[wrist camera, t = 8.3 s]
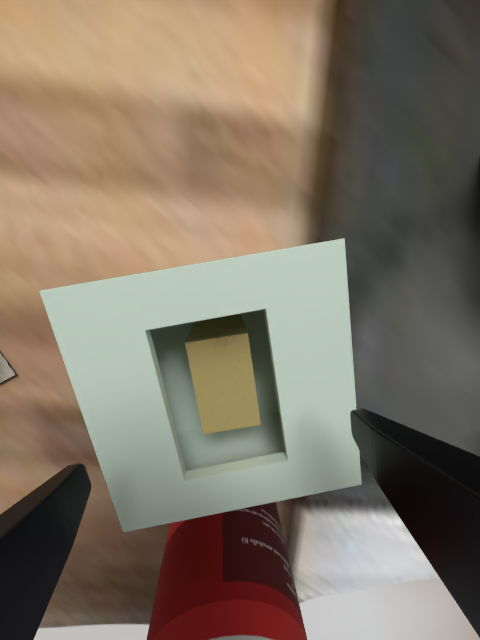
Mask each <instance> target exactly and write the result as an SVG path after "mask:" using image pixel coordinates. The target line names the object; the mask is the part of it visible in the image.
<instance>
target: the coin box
mask: <svg viewBox="0 0 480 640" xmlns="http://www.w3.org/2000/svg"><path fill="white" fill-rule="evenodd" d="M40 294H41V297H42V300H43V303H44V306H45V309H46V311H47V314H48V317H49V320H50V323H51V326H52V329H53V332H54V334H55V337H56V340H57V343H58V346H59V349H60V352H61V355H62V357H63V360H64V363H65V366H66V369H67V372H68V375H69V378H70V380H71V383H72V386H73V389H74V392H75V395H76V398H77V401H78V403H79V406H80V409H81V412H82V415H83V418H84V421H85V424H86V426H87V429H88V432H89V435H90V438H91V441H92V444H93V446H94V449H95V452H96V455H97V458H98V461H99V464H100V467H101V469H102V472H103V475H104V478H105V481H106V484H107V487H108V490H109V492H110V495H111V498H112V501H113V504H114V507H115V510H116V513H117V515H118V518H119V521H120V524H121V527H122V530H123V533H124V532H129V531H133V530H138V529H143V528H148V527H153V526H158V525H163V524H168V523H173V522H178V521H183V520H188V519H193V518H198V517H203V516H208V515H213V514H218V513H223V512H228V511H233V510H237V509H242V508H247V507H252V506H257V505H262V504H267V503H272V502H277V501H282V500H287V499H292V498H297V497H302V496H307V495H312V494H317V493H322V492H327V491H332V490H337V489H341V488H346V487H351V486H356V485H361V470H360V455H359V448H358V446H357V444H356V442H355V441H354V439H353V436H352V432H351V420H350V412H351V411H352V410H356V398H355V383H354V369H353V354H352V340H351V325H350V311H349V297H348V282H347V268H346V253H345V239H338V240H332V241H326V242H321V243H315V244H309V245H303V246H297V247H291V248H286V249H280V250H274V251H268V252H262V253H256V254H251V255H245V256H239V257H233V258H227V259H221V260H216V261H210V262H204V263H198V264H192V265H186V266H181V267H175V268H169V269H163V270H157V271H151V272H146V273H140V274H134V275H128V276H122V277H116V278H111V279H105V280H99V281H93V282H87V283H81V284H76V285H70V286H64V287H58V288H52V289H46V290H41V291H40ZM240 313H241V316H242V318H243V321H244V324H245V327H246V329H247V332H248V337H249V344H250V352H251V359H252V366H253V373H254V380H255V387H256V394H257V402H258V409H259V416H260V423H261V425H256V426H250V427H244V428H238V429H232V430H226V431H221V432H215V433H209V434H203V430H202V425H201V420H200V415H199V410H198V405H197V400H196V395H195V390H194V385H193V380H192V375H191V370H190V365H189V360H188V355H187V350H186V345H185V342H186V339H187V337H188V335H189V333H190V330H191V328H192V326H193V323H194V322H195V321H201V320H206V319H212V318H217V317H223V316H229V315H234V314H240Z"/></svg>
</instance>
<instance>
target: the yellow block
mask: <svg viewBox="0 0 480 640" xmlns="http://www.w3.org/2000/svg"><path fill="white" fill-rule="evenodd" d="M185 345H186V350H187V355H188V360H189V365H190V370H191V375H192V380H193V385H194V390H195V395H196V400H197V405H198V410H199V415H200V420H201V425H202V430H203V434H209V433H215V432H221V431H226V430H232V429H238V428H244V427H250V426H256V425H261V423H260V416H259V409H258V402H257V394H256V387H255V380H254V373H253V366H252V359H251V352H250V344H249V337H248V332H247V329H246V327H245V324H244V321H243V318H242V316H241V313H240V314H234V315H229V316H223V317H217V318H212V319H206V320H201V321H195V322H194V323H193V326H192V328H191V330H190V333H189V335H188V337H187V339H186V342H185Z"/></svg>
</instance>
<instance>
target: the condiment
mask: <svg viewBox="0 0 480 640" xmlns="http://www.w3.org/2000/svg"><path fill="white" fill-rule="evenodd" d="M14 375H15V373H14V372H13V370H12V369H11V368H10V366H9V365H8V363H7V361H6V360H5V359H4V357H3V356H2V355H1V353H0V383H1V382H3V381H5V380H7V379H8V378H10V377H12V376H14Z"/></svg>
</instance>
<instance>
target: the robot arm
mask: <svg viewBox="0 0 480 640" xmlns="http://www.w3.org/2000/svg"><path fill="white" fill-rule="evenodd" d="M350 420H351V432H352V436H353V439H354V441H355V442H356V444H357V446H358V448H359V450H360V452H361V454H362V456H363V458H364V459H365V461H366V463H367V465H368V467H369V469H370V471H371V473H372V474H373V476H374V478H375V480H376V482H377V483H378V485H379V487H380V488H381V490H382V491H383V493H384V494H385V496H386V497H387V499H388V500H389V502H390V503H391V505H392V506H393V508H394V509H395V511H396V512H397V514H398V515H399V517H400V518H401V520H402V521H403V523H404V524H405V526H406V527H407V529H408V530H409V532H410V533H411V535H412V536H413V538H414V539H415V541H416V542H417V544H418V545H419V547H420V548H421V550H422V551H423V553H424V554H425V556H426V557H427V559H428V560H429V562H430V563H431V565H432V566H433V568H434V569H435V571H436V573H437V574H438V576H439V577H440V579H441V580H442V581H443V583H444V585H445V586H446V587H447V589H448V591H449V592H450V593H451V595H452V597H453V598H454V600H455V601H456V603H457V604H458V605H459V607H460V609H461V610H462V612H463V613H464V615H465V616H466V618H467V619H468V621H469V622H470V624H471V625H472V627H473V628H474V630H475V631H476V632H477V634H478V636H479V637H480V457H479V456H477V455H475V454H472V453H470V452H467V451H465V450H462V449H460V448H458V447H455V446H453V445H450V444H448V443H446V442H443V441H441V440H438V439H436V438H433V437H431V436H429V435H426V434H424V433H421V432H419V431H416V430H414V429H412V428H409V427H407V426H404V425H402V424H400V423H397V422H395V421H392V420H390V419H387V418H385V417H383V416H380V415H378V414H375V413H373V412H371V411H368V410H366V409H363V408H361V409H356V410H352V411H351V412H350ZM90 491H91V482H90V479H89V476H88V474H87V471H86V468H85V466H84V464H82V463H78V464H72V465H69V466H67V467H65V468H64V469H63V470H61V471H60V472H59V473H57V474H56V475H54V476H53V477H52V478H50V479H49V480H47V481H46V482H45V483H43V484H42V485H41V486H39V487H38V488H36V489H35V490H34V491H32V492H31V493H30V494H28V495H27V496H25V497H24V498H23V499H21V500H20V501H19V502H17V503H16V504H14V505H13V506H12V507H10V508H9V509H7V510H6V511H5V512H3V513H2V514H1V515H0V640H33V639H34V637H35V635H36V632H37V630H38V627H39V625H40V623H41V620H42V618H43V615H44V613H45V611H46V608H47V606H48V604H49V601H50V599H51V596H52V594H53V592H54V589H55V587H56V584H57V582H58V580H59V577H60V575H61V573H62V570H63V568H64V565H65V563H66V561H67V558H68V556H69V553H70V551H71V548H72V546H73V543H74V540H75V537H76V535H77V532H78V528H79V525H80V522H81V519H82V516H83V513H84V510H85V507H86V504H87V501H88V498H89V495H90Z"/></svg>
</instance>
